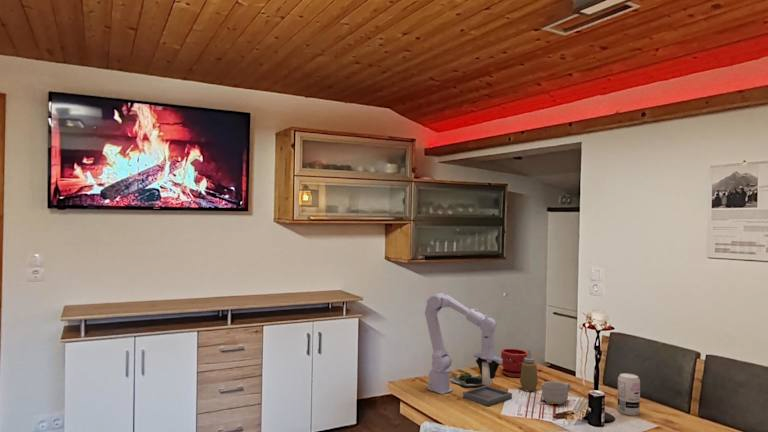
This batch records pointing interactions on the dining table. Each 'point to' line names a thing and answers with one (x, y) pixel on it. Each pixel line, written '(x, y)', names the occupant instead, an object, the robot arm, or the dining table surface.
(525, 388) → the squeeze bottle
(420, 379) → the dining table surface
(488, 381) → the salt shaker
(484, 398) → the tray
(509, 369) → the plant pot
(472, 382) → the salad plate
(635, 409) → the supplement can
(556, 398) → the teacup
